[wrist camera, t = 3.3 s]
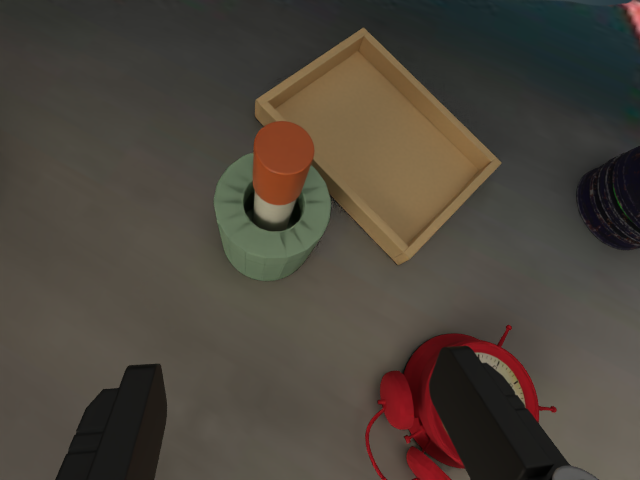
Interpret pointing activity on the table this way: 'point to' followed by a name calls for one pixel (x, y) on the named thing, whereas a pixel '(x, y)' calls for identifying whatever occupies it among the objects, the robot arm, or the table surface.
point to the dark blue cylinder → (613, 201)
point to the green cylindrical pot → (261, 245)
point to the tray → (381, 142)
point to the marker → (279, 172)
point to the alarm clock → (419, 412)
